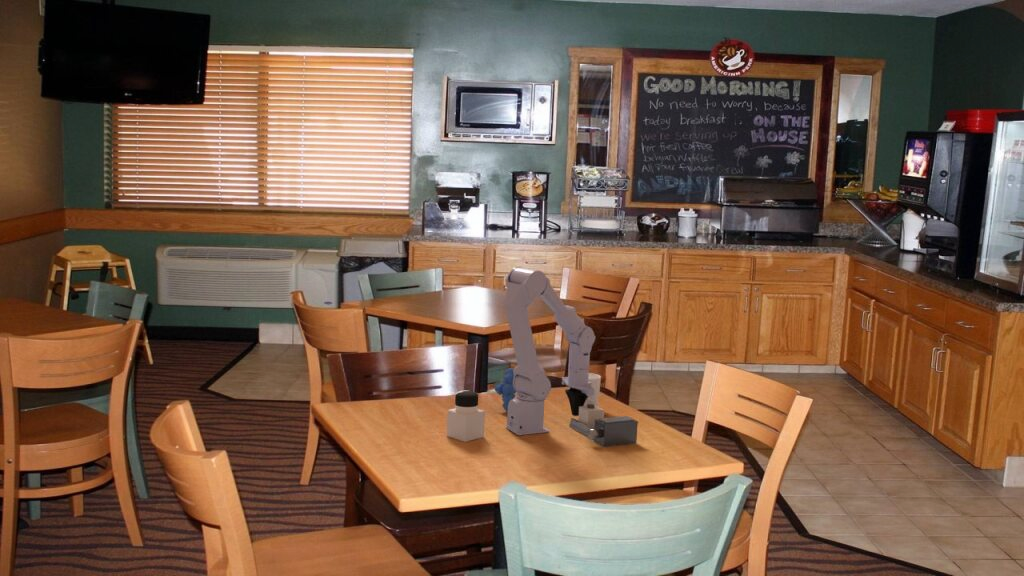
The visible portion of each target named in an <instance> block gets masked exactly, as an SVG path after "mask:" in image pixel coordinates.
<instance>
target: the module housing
mask: <svg viewBox="0 0 1024 576" xmlns="http://www.w3.org/2000/svg"><path fill="white" fill-rule="evenodd" d="M569 422H570V423H569V428H571V429H573V430H575V431H576V432H578V433H580V434H582V435H583V436H585V437H587V438H588V439H589V440H593V443H596V444H597V445H599V446H601V448H602V447H603V448H608V447H616V446H617V447H619V446H625V445H626V446H627V445H633V444H634V445H636V444H637V442H638V441H637V438H638V425H639V424H638V423H639V421H638V420H636V419H634V418H632V417H630V416H627V415H623V416H614V417H613V416H611V417H604V418H601V419H595V423H594V429H593V428H591V427H589V426H587V425H585V424H583V423H581V422H579V421H578V419H575V418H574V417H571V418H570V421H569Z"/></svg>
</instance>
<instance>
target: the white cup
mask: <svg viewBox="0 0 1024 576" xmlns="http://www.w3.org/2000/svg"><path fill="white" fill-rule="evenodd" d="M601 379H602V376H601V375H600V374H597V373H591V372H589V378H588V381H589V382H591V383H592V384H591V385H590V386H591V387H592V388H594V389H595V390H594V396H588V398H587V399H586V401H585V403H584V406H587V404H594V405H596V406H598V407H599V398H600V391H601Z"/></svg>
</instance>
